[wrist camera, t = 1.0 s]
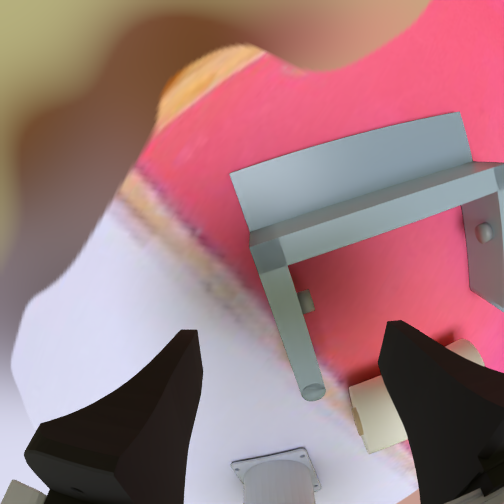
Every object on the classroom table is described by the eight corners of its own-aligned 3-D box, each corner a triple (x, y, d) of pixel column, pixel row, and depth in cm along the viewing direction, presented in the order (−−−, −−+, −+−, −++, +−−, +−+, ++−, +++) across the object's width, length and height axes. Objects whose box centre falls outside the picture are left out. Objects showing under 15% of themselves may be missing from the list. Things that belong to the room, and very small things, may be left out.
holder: (482, 287, 23) (515, 309, 18) (296, 363, 24) (304, 403, 19) (454, 112, 19) (493, 104, 14) (230, 173, 20) (223, 174, 16)
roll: (456, 324, 23) (495, 363, 17) (454, 373, 25) (484, 412, 19) (341, 373, 24) (362, 428, 18) (351, 417, 26) (368, 467, 20)
